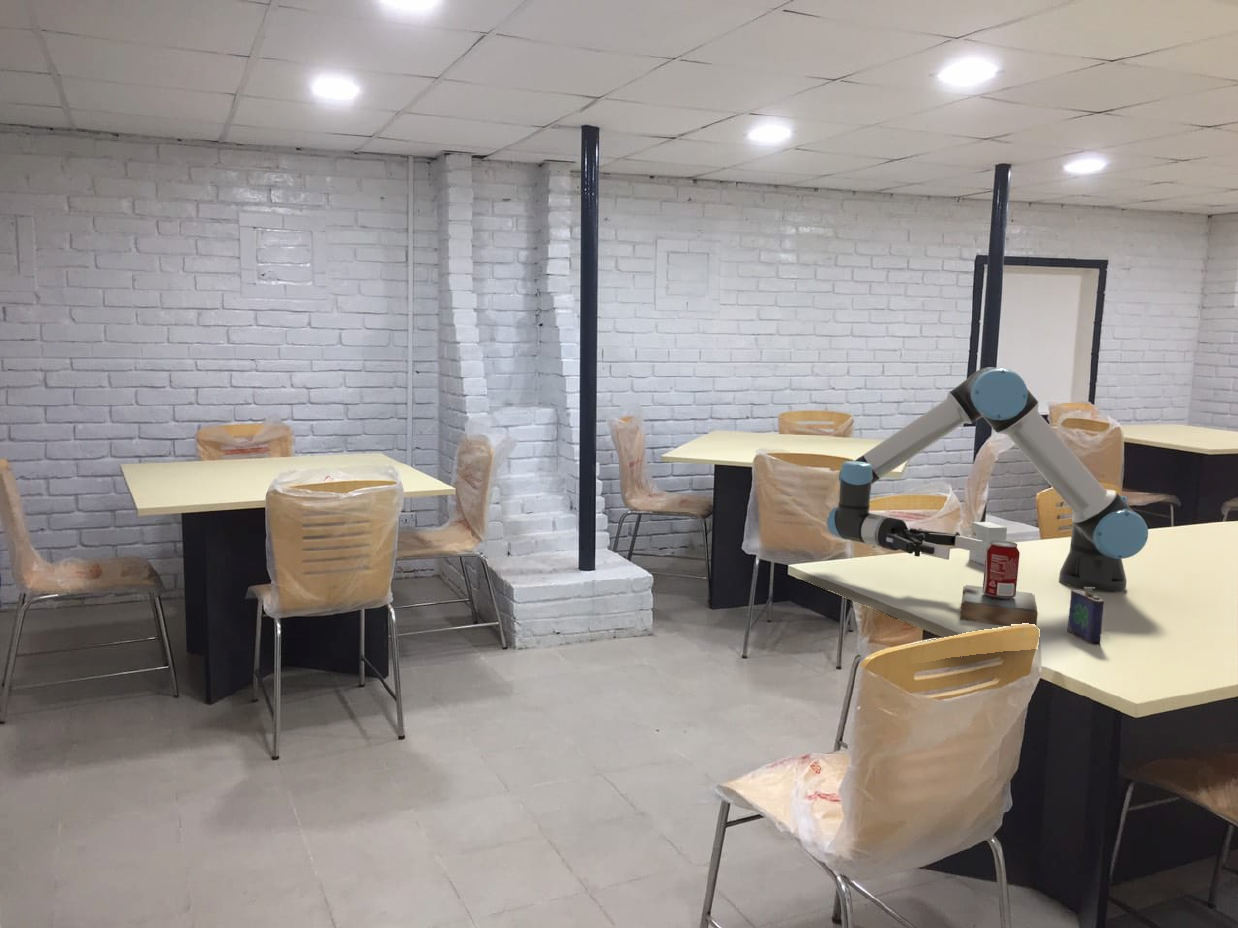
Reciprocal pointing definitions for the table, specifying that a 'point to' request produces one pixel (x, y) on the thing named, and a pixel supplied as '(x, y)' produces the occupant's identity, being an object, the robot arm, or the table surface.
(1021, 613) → the riser
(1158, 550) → the table surface
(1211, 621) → the table surface
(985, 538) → the small box
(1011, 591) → the soda can
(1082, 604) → the flask
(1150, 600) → the table surface
